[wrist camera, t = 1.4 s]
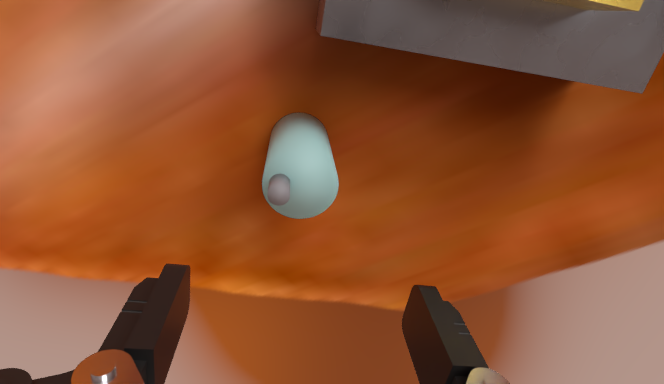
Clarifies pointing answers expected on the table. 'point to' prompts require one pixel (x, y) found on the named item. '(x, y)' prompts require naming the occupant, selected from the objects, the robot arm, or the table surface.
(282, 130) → the spout can
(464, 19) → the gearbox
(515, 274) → the table surface
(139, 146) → the table surface
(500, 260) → the table surface
